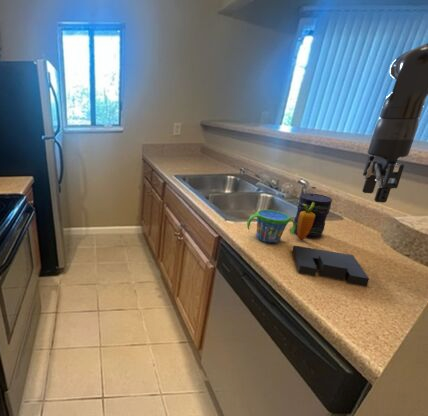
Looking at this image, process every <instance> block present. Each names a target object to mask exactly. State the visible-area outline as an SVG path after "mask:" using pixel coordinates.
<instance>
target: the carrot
mask: <svg viewBox="0 0 428 416" xmlns="http://www.w3.org/2000/svg"><path fill="white" fill-rule="evenodd" d="M302 205H303V206H304V207H305V210H306V211H302V212H300V214H299V218H298V223H297V234H298V235H297V239H298V240H299V241H303V240H304V239H305V237H306V236H307V235H308V233H309V231H310V230H311V228H312V225H313V222H314V219H315V214H314V213H312V212H311V210H312V209H313V207H314V205H315V203H314V202H312V204H311V207H310V208H309V209H308V207H307V205H306V204H302Z"/></svg>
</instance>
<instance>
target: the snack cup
mask: <svg viewBox="0 0 428 416" xmlns="http://www.w3.org/2000/svg"><path fill="white" fill-rule="evenodd" d="M255 218H256V219H257V220H256V238H257V239H259V241H262V242H264V243H269V244H272V243H274V244H277V243H278V242H279V241H280V240H281V238H282V236H283V234H284V231H285V229H286V227H287V226H288V224H289V222H290V221H291V222H292V227H291V229H290V231H289V232H290V234H291V235H294V234H295V233H294V232H295V229H296V224H295V222H294V219H293V218H292V217H290V216H289V215H288V214H286V213H284V212H281V211H278V210H274V209H260V210H258V211H257V212H256V213H253V214H252V215H251V216H249V218H248V219H247V222H246V225H247V230H250V227H251V222H252V220H253V219H255Z"/></svg>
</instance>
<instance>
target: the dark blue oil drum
mask: <svg viewBox="0 0 428 416" xmlns="http://www.w3.org/2000/svg"><path fill="white" fill-rule="evenodd" d="M311 188H312V189H317V187H316V186H311ZM312 202H314V203H315V205H314V207H313V209H312V210H311V212H312V213H314V214H315V219H314V222H313V225H312V228H311V230H310V231H309V233H308V235H307V236H306V237H305V238H306V239H314V240H316V239H320V238H322V236H323V235H322V234H323V232H324V230H325V226H326V220H327V217H328V215H329V213H330V210H331V207H332V202H333V198H332V197H330V196H328V195H324V194H318V193H308V192H306V193H301V194H300V196H299V200H298V203H297V206H296V207H297V208H296V209H297V211H296V215H295V217H294V219H293V220H294V222H295V224H296V229H295V232H294V234H295V235H296V236H298V234H297V223H298V218H299V214H300V212H302V211H306V210H305V207H304V206H303V205H302V204H306V205H307V207H308V209H309V208H310V207H311V204H312ZM305 238H304V239H305Z"/></svg>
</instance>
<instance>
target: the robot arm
mask: <svg viewBox="0 0 428 416" xmlns="http://www.w3.org/2000/svg"><path fill="white" fill-rule="evenodd" d="M389 68H390V69H389V74H390V76H391V78H392V79H393V80H395V82H394V85H393V87H392V91H391V92H390V94H388V96H386V98H385V99H384V101H383V104H382V107H381V111H380V114H379V118H378V120H377V123H376V124H375V127H374V129H373V133H372V137H371V140H370V143H369V147H368V149H367V154H368V155H369V156H368V157H367V161H366V162H365V163H366V164H365V167H364V169H363V172H362V176H364V180H365V181H364V183H363V187H362V190H361V191H362V193H364V194H373V193H374V191H375V188H376V185H378V187H377V190H376V193H375V196H374V199H373V200H374V202H376V203H383V204H384V203H386V202H387V201H388V199H389V195H390V192H391V190H394V189H397V188H398V187H399V184H400V180H401V177H402V174H403V172H404V171H403V170H404V168H405V164H404V163H403V164H402V163H398V159H399V158H405V157H408V156H409V154H410V151H411V148H412V145H413V142H414V140H415V138H416V134H417V131H418V129H419V122H420V118H421V115H422V113H423V109H424V106H425V104H426V99H427V97H428V42H427V43H425V44H422V45H420V46H417V47H415V48H412V49H410V50H408V51H406V52H404V53H402V54H401V55H399V56H398V57H397V58H396V59H395V60H394V61H393V62H392V64H391V65H390V67H389ZM377 181H378V183H377Z"/></svg>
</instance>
